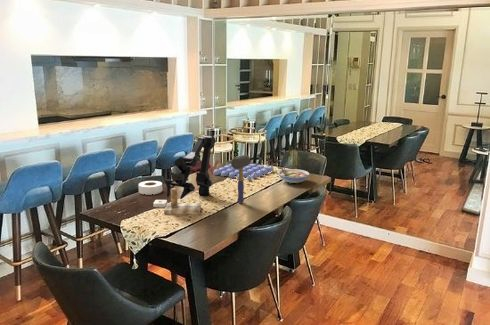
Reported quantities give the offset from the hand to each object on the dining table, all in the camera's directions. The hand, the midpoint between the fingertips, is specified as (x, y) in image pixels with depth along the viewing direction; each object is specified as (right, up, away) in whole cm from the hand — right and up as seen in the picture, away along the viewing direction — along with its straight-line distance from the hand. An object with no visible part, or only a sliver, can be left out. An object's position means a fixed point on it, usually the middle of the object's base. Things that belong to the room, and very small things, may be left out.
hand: (174, 197), depth 233 cm
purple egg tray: (+40, +11, +86) cm, 95 cm away
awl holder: (-10, -6, +10) cm, 16 cm away
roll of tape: (-23, +1, +39) cm, 45 cm away
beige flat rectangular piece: (+5, -8, +2) cm, 9 cm away
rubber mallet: (+39, -5, +16) cm, 42 cm away
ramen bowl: (+77, +6, +61) cm, 99 cm away
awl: (0, -7, +2) cm, 8 cm away
